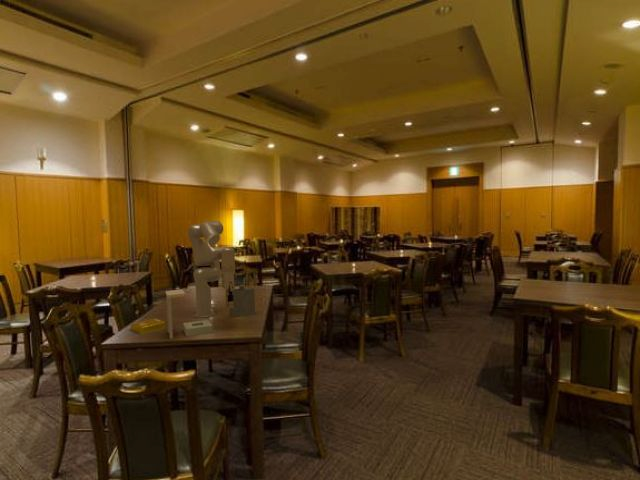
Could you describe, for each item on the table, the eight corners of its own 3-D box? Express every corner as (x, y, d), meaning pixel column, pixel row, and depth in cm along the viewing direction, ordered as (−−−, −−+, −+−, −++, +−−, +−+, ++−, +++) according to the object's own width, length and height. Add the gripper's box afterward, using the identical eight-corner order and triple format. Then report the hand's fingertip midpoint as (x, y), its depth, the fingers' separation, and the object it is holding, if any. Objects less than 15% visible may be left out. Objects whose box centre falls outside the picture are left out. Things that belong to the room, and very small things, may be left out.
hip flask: (254, 314, 253) (253, 284, 252) (255, 315, 249) (254, 285, 248) (230, 316, 249) (228, 285, 248) (230, 317, 245) (228, 286, 244)
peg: (225, 306, 222) (224, 286, 221) (232, 306, 224) (231, 285, 223) (227, 308, 218) (226, 287, 218) (234, 307, 220) (233, 286, 219)
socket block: (167, 332, 216) (165, 291, 215) (208, 326, 226) (206, 287, 225) (169, 339, 204) (167, 295, 202) (212, 332, 213) (210, 290, 212)
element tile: (166, 329, 225) (166, 320, 224) (140, 335, 213) (140, 326, 213) (154, 324, 235) (154, 317, 234) (129, 330, 223) (129, 322, 223)
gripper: (218, 268, 226) (220, 298, 227) (224, 271, 211) (226, 304, 212) (231, 267, 229) (232, 297, 230) (238, 270, 214) (239, 302, 215)
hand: (229, 300), depth 221 cm, fingers closed on peg, 4 cm apart
